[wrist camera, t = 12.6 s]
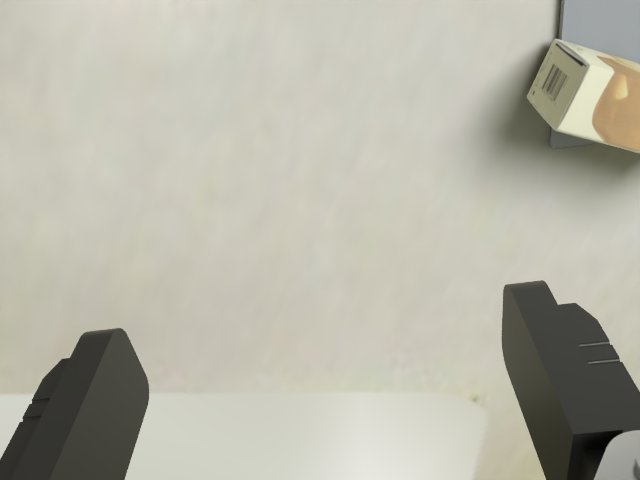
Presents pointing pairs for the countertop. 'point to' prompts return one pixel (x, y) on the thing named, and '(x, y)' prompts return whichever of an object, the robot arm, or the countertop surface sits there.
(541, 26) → the countertop surface
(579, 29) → the mat
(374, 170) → the countertop surface
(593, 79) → the skincare box
